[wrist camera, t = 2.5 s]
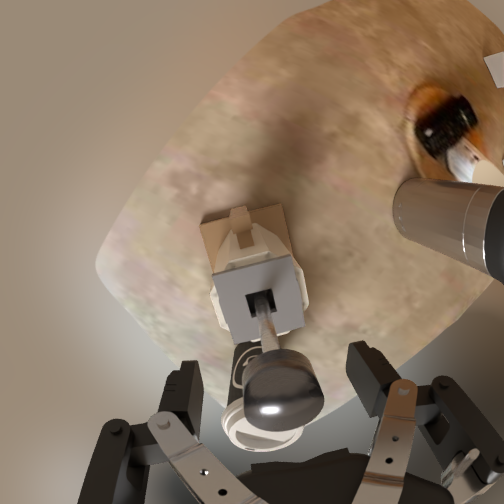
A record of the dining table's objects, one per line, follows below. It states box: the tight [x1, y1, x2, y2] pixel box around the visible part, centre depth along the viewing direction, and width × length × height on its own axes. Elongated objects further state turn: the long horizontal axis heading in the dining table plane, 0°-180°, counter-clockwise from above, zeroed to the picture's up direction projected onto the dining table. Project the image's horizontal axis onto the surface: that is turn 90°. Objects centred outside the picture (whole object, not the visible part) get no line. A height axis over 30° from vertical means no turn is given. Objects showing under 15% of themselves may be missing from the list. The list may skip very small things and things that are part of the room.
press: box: [199, 203, 309, 344], centre depth 27 cm, size 10×11×15 cm
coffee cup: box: [221, 340, 305, 452], centre depth 31 cm, size 10×10×15 cm
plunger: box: [242, 288, 324, 432], centre depth 16 cm, size 5×5×14 cm
